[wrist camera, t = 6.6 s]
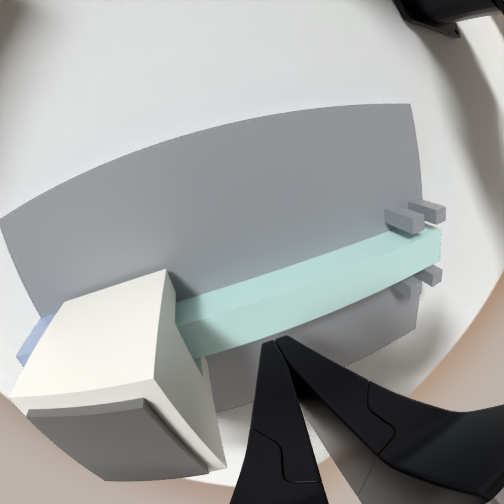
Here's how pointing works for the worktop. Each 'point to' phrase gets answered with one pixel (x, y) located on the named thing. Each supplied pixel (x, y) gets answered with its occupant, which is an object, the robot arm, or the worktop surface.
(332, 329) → the comb board
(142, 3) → the worktop surface
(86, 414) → the sleeve
